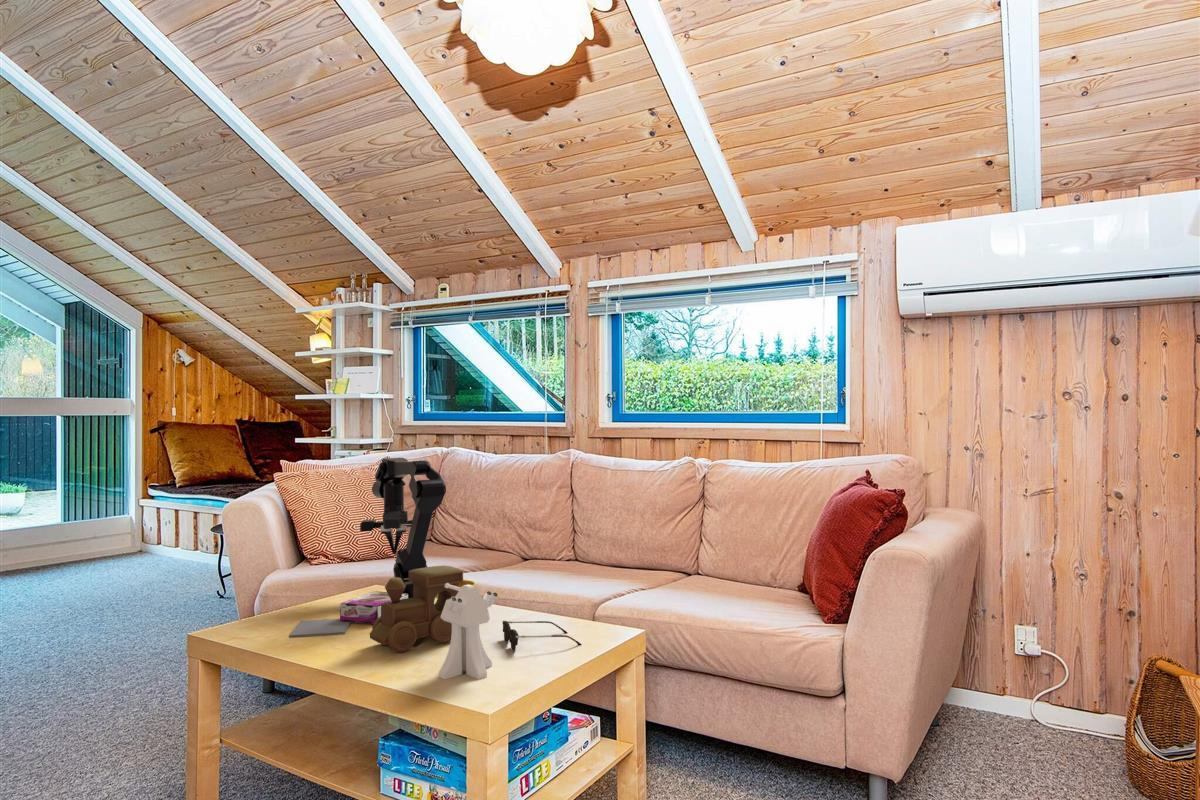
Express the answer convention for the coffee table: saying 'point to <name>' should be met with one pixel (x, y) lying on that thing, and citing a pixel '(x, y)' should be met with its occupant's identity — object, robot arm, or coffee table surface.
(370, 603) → the candy bar box
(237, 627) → the coffee table surface
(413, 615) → the wooden toy train
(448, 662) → the toy gun turret
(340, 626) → the mat
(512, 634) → the sunglasses
